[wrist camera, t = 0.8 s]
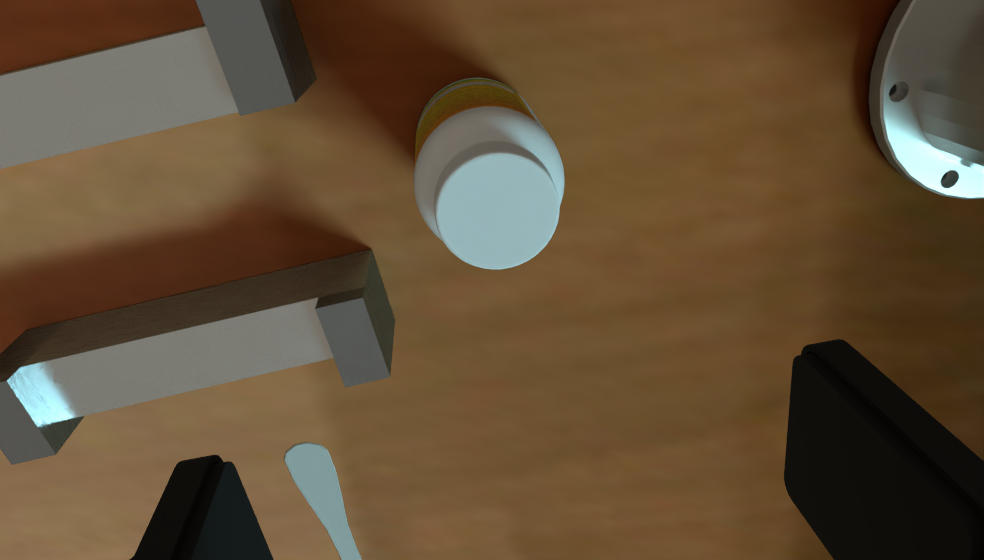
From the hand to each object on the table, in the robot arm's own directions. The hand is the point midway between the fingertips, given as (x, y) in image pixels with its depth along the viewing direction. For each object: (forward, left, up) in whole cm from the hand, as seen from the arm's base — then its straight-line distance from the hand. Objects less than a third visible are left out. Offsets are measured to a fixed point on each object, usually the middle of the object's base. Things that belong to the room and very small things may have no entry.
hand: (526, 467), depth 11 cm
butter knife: (+12, +26, -21) cm, 36 cm away
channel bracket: (+14, 0, -21) cm, 25 cm away
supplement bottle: (-1, 0, -21) cm, 21 cm away
